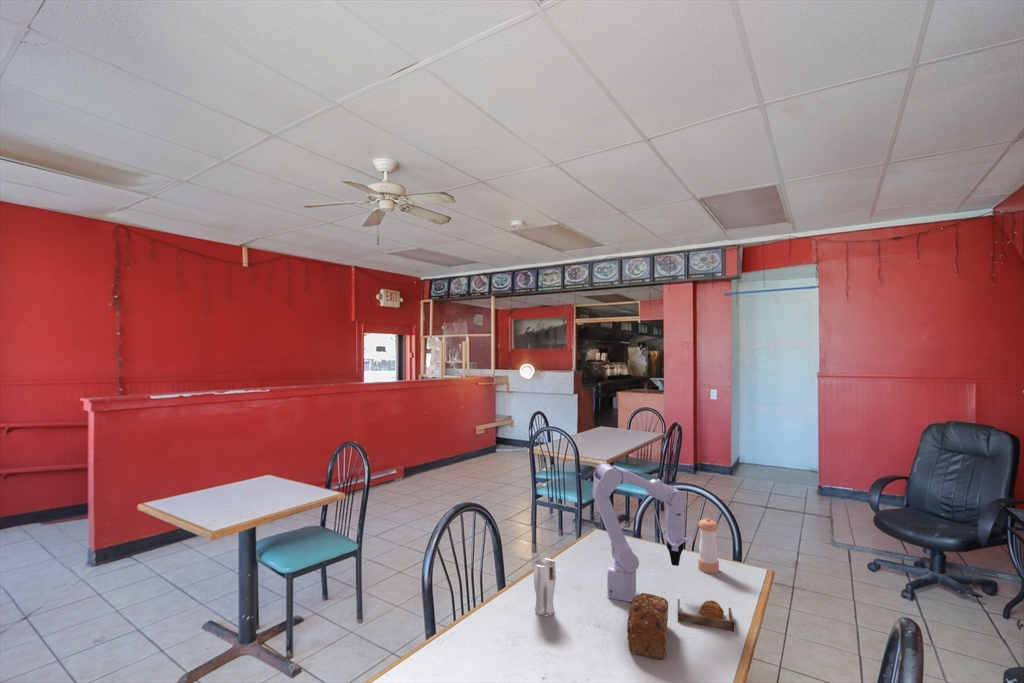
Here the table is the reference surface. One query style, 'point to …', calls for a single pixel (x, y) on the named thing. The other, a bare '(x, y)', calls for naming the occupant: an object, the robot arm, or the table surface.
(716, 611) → the pastry
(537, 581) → the beer glass
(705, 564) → the pepper shaker
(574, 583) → the table surface
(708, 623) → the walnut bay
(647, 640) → the bread
